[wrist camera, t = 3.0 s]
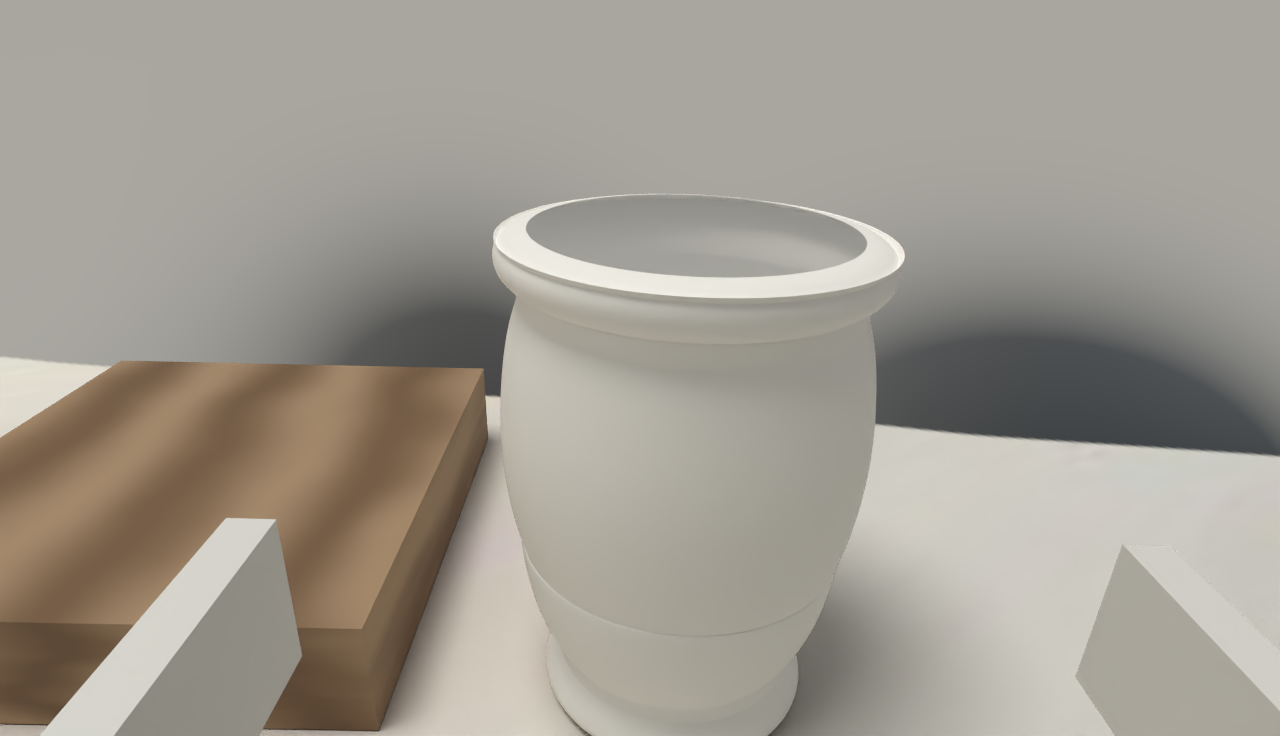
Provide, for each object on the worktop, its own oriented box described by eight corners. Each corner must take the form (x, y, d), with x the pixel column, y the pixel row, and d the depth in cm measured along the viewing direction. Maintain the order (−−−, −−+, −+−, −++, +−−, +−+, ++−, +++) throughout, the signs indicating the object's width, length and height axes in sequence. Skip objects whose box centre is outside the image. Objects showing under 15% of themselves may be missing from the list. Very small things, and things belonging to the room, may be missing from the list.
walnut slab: (488, 438, 39) (483, 368, 38) (378, 730, 23) (361, 629, 21) (141, 431, 39) (121, 360, 38) (-219, 719, 23) (-281, 616, 21)
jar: (875, 641, 27) (957, 223, 21) (732, 881, 19) (796, 330, 13) (634, 531, 32) (642, 176, 26) (448, 683, 25) (399, 231, 19)
